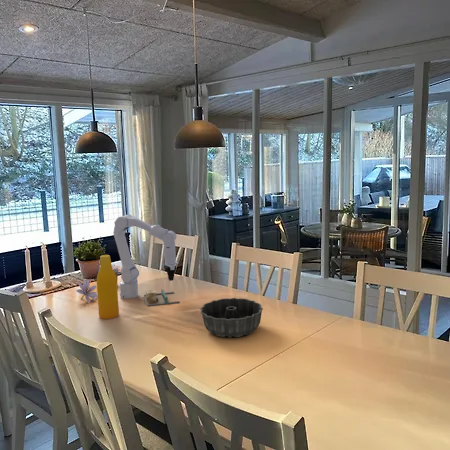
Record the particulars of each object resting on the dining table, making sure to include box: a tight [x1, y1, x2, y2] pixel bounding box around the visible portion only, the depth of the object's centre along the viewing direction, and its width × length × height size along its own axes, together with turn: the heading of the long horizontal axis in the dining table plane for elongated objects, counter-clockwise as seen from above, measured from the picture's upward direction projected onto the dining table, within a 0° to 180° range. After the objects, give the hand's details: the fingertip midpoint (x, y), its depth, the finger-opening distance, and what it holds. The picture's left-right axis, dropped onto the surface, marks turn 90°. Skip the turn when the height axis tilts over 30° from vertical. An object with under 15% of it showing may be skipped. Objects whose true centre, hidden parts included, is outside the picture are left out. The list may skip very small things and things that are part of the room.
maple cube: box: [145, 290, 156, 302], centre depth 225 cm, size 4×4×4 cm
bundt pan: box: [199, 297, 264, 339], centre depth 186 cm, size 26×26×10 cm
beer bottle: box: [96, 254, 120, 320], centre depth 204 cm, size 9×9×29 cm
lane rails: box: [143, 291, 180, 307], centre depth 227 cm, size 16×18×2 cm
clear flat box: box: [142, 288, 168, 307], centre depth 226 cm, size 11×15×4 cm
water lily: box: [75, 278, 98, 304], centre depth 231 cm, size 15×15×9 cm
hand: (171, 280), depth 227 cm, fingers closed
